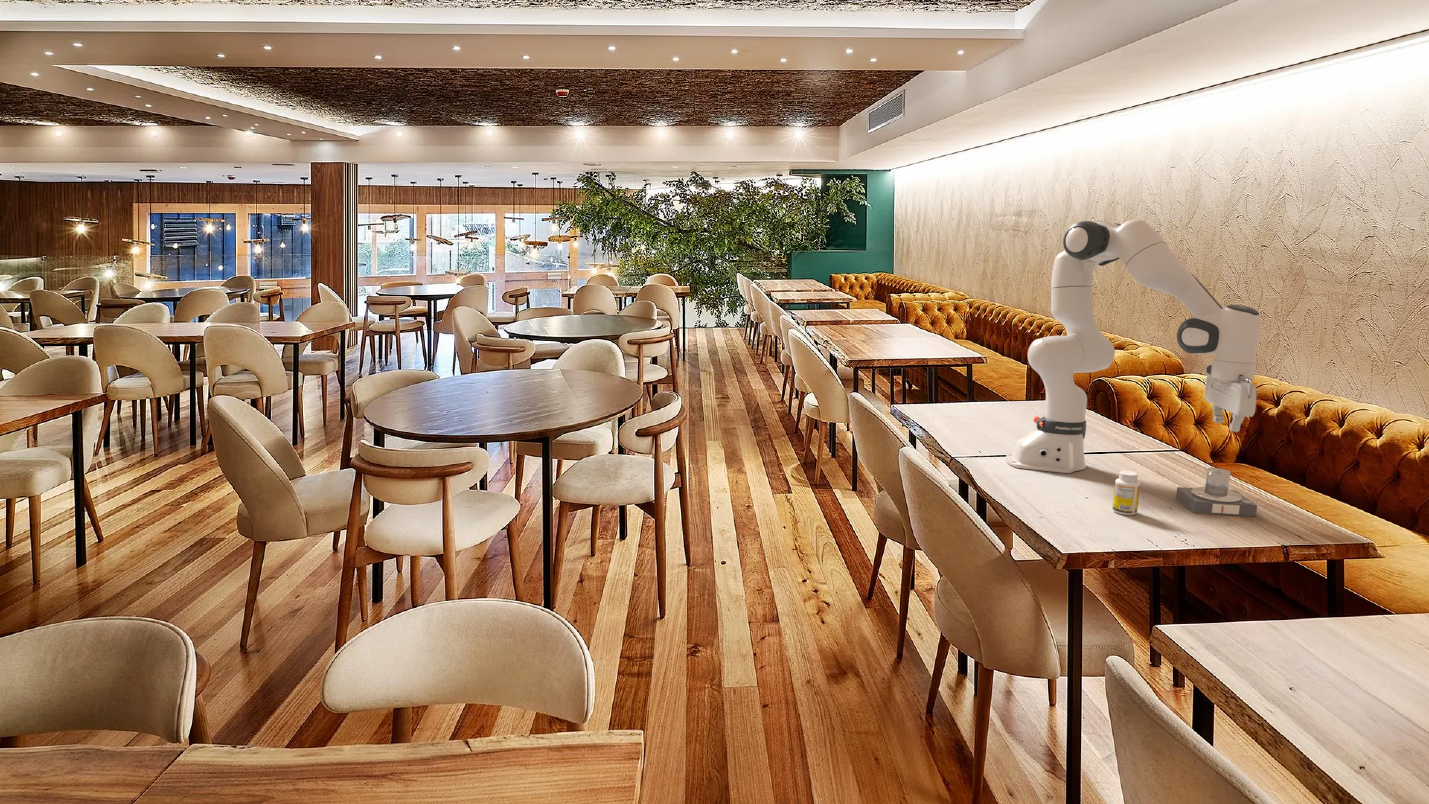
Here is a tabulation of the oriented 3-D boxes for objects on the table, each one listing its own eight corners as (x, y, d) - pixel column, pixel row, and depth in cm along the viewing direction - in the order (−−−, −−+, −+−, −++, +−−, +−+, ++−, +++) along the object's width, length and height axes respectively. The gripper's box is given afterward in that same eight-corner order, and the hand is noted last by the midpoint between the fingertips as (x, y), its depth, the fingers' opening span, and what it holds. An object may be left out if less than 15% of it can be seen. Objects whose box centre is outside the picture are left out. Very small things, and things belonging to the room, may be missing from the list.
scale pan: (1201, 501, 202) (1201, 498, 201) (1184, 487, 212) (1184, 485, 212) (1249, 504, 200) (1249, 501, 200) (1230, 490, 210) (1230, 488, 210)
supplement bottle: (1126, 508, 205) (1131, 469, 203) (1141, 515, 200) (1146, 475, 198) (1107, 509, 204) (1111, 470, 202) (1121, 516, 199) (1126, 476, 197)
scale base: (1194, 513, 201) (1196, 501, 201) (1175, 497, 214) (1177, 485, 213) (1256, 517, 199) (1258, 504, 198) (1234, 501, 211) (1235, 489, 210)
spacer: (1211, 496, 203) (1215, 473, 202) (1200, 490, 208) (1203, 467, 207) (1231, 496, 203) (1235, 473, 202) (1219, 490, 208) (1222, 468, 207)
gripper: (1267, 379, 189) (1259, 437, 192) (1229, 366, 209) (1222, 418, 211) (1238, 378, 190) (1229, 436, 193) (1203, 365, 210) (1196, 417, 212)
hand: (1225, 426), depth 202 cm, fingers open, 8 cm apart
